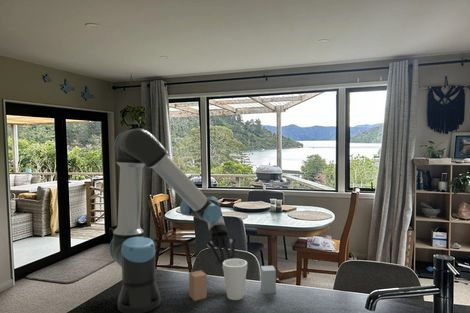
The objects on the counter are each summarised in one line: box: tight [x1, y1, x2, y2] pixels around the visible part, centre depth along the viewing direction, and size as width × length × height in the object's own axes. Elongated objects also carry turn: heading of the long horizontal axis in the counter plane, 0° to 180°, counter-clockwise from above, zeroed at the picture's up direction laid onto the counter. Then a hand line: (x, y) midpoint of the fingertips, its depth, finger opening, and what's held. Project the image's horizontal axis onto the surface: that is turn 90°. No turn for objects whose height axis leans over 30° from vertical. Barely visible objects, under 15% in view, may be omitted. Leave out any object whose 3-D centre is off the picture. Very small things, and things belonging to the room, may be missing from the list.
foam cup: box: [222, 258, 248, 301], centre depth 125 cm, size 10×9×13 cm
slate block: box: [260, 265, 277, 294], centre depth 130 cm, size 5×5×9 cm
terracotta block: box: [188, 269, 208, 302], centre depth 125 cm, size 5×5×9 cm
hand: (230, 278), depth 131 cm, fingers closed
